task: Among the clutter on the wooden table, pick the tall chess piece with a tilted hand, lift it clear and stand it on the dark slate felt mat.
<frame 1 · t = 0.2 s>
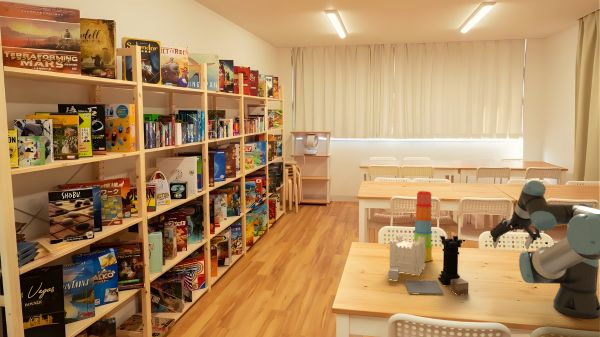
hand: (510, 246, 194), 16 cm above the table, tool tilted 35°, fingers open, 13 cm apart
felt mat: (423, 287, 190), on the table
stacking cups: (422, 259, 227), on the table
walnut cube: (459, 292, 185), on the table
castle model: (407, 269, 213), on the table
grey plastic box: (394, 279, 200), on the table
chess piece: (449, 282, 195), on the table
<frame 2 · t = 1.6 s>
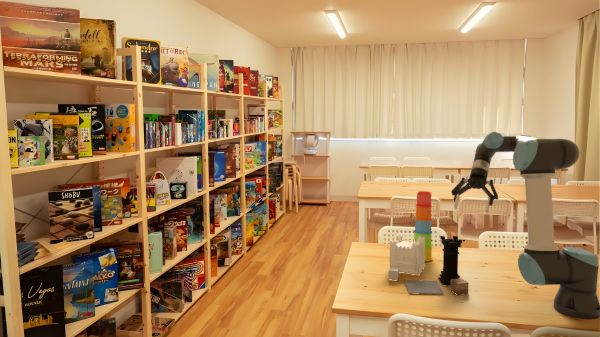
hand: (470, 209, 199), 31 cm above the table, tool tilted 45°, fingers open, 13 cm apart
nothing on the table moved.
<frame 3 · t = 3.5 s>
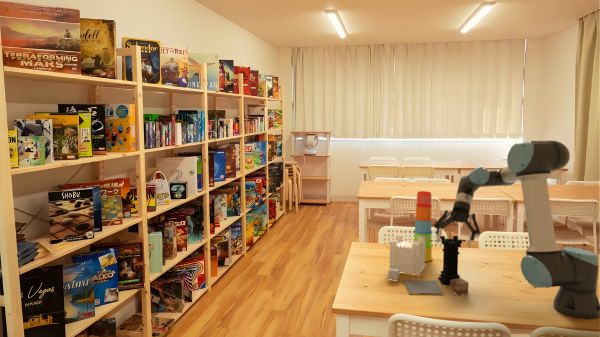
hand: (452, 243, 199), 16 cm above the table, tool tilted 45°, fingers open, 13 cm apart
nothing on the table moved.
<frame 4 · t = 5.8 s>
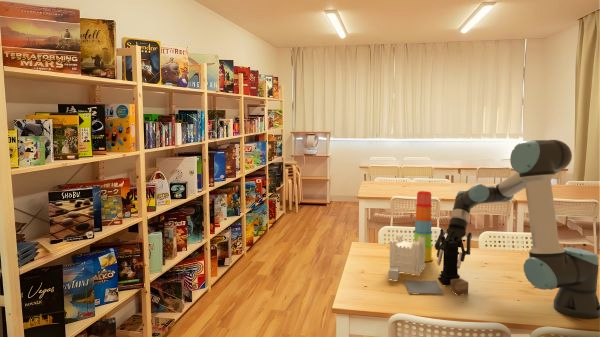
hand: (448, 265, 192), 9 cm above the table, tool tilted 45°, fingers closed on chess piece, 8 cm apart
chess piece: (449, 282, 195), on the table, touching gripper
everything else where it was.
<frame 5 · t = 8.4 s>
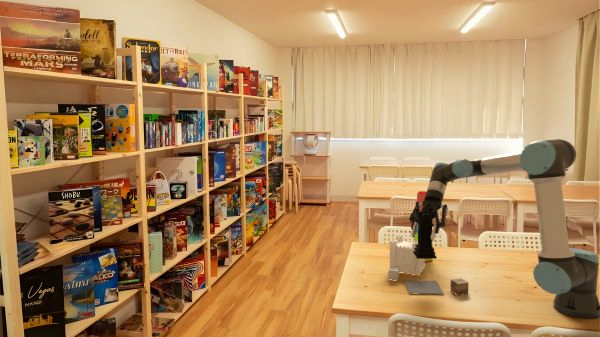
hand: (422, 237, 185), 23 cm above the table, tool tilted 45°, fingers closed on chess piece, 8 cm apart
chess piece: (424, 256, 189), point 14 cm above the table, touching gripper
everything else where it was.
when the fingers open (11 cm above the table, at t = 11.1 s): chess piece drops 2 cm, resting on felt mat.
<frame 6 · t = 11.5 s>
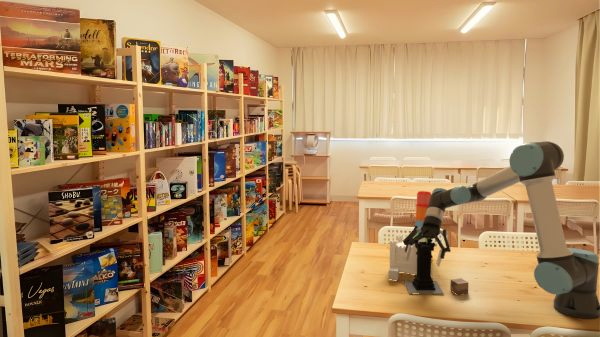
hand: (421, 262, 186), 12 cm above the table, tool tilted 45°, fingers open, 13 cm apart
chess piece: (423, 286, 190), resting on felt mat
everything else where it was.
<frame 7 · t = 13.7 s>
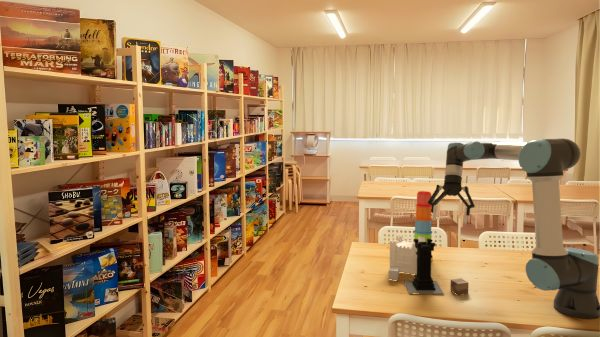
hand: (449, 221, 199), 26 cm above the table, tool tilted 25°, fingers open, 13 cm apart
nothing on the table moved.
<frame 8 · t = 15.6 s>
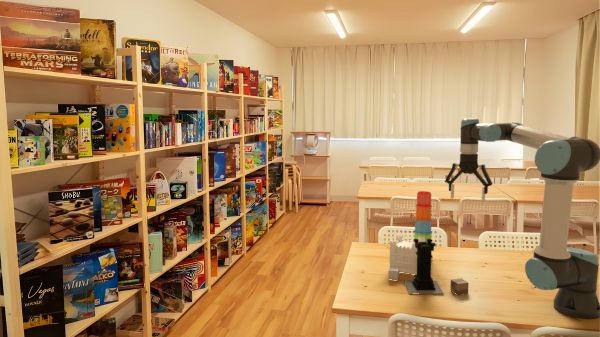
hand: (467, 199, 202), 35 cm above the table, tool pointing down, fingers open, 13 cm apart
nothing on the table moved.
at the end: chess piece inside the target area on the felt mat (0.2 cm from its centre), point 0.4 cm above the felt mat's base; chess piece tilted 0°; the gripper is holding nothing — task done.
